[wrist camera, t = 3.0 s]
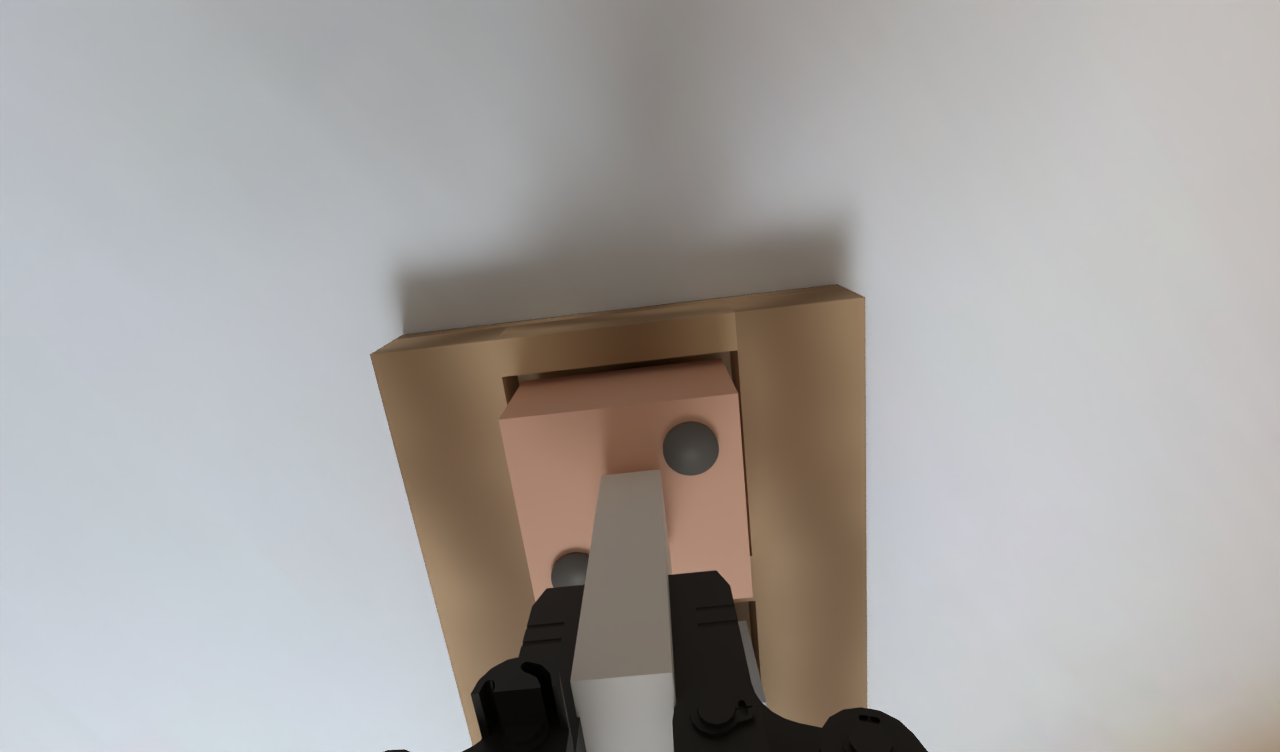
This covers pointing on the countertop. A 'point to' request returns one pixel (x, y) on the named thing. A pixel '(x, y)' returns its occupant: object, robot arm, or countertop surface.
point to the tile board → (772, 460)
